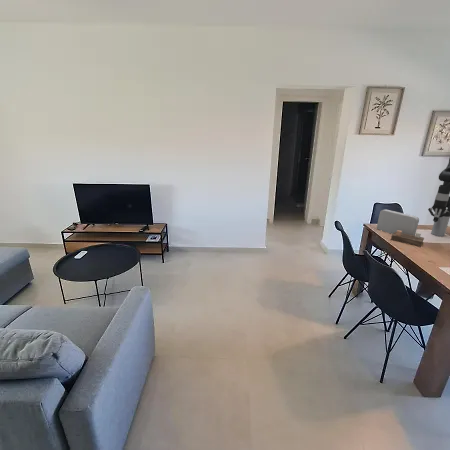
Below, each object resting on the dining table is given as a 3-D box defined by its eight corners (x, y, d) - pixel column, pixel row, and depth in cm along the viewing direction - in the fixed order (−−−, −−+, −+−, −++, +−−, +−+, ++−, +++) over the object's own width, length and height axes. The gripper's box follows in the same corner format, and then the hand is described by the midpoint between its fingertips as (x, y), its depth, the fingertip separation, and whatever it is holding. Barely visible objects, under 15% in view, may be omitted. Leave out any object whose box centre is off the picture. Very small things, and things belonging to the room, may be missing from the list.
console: (394, 235, 231) (395, 231, 230) (422, 242, 219) (424, 237, 218) (390, 239, 222) (392, 235, 221) (420, 246, 210) (421, 241, 209)
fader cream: (415, 236, 220) (416, 231, 219) (420, 237, 218) (421, 232, 217) (414, 237, 218) (416, 232, 217) (419, 238, 216) (420, 233, 215)
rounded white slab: (415, 237, 229) (421, 216, 223) (411, 239, 225) (417, 218, 219) (380, 227, 251) (384, 208, 245) (376, 229, 246) (380, 209, 240)
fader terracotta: (396, 234, 223) (397, 230, 222) (401, 235, 221) (402, 231, 220) (396, 235, 221) (397, 231, 220) (400, 236, 219) (401, 231, 218)
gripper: (453, 200, 201) (446, 222, 207) (431, 196, 209) (425, 218, 215) (452, 201, 196) (445, 225, 201) (430, 198, 204) (423, 221, 210)
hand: (435, 221), depth 208 cm, fingers closed
